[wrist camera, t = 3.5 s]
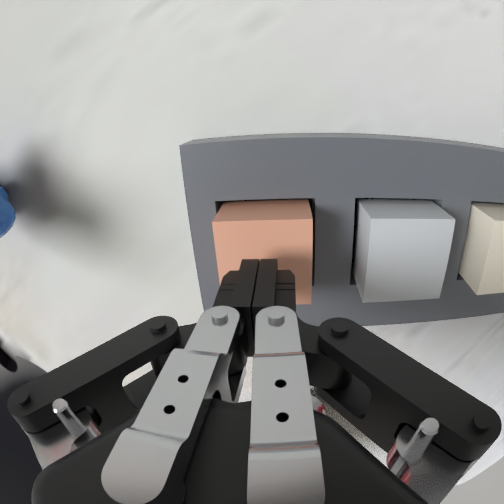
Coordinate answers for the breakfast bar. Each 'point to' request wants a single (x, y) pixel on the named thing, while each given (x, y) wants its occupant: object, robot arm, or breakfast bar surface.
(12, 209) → the grapes
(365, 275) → the key grey
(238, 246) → the key terracotta
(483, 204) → the key beige
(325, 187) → the keypad
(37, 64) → the breakfast bar surface
